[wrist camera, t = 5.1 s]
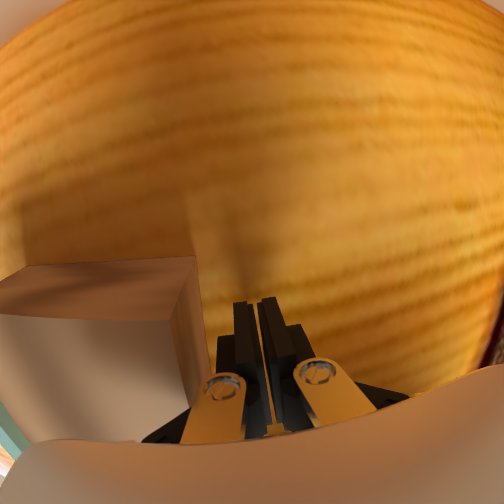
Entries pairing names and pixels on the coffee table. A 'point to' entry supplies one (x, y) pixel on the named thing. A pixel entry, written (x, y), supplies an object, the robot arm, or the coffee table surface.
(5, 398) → the brown block
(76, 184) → the coffee table surface
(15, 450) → the teal board
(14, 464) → the robot arm
